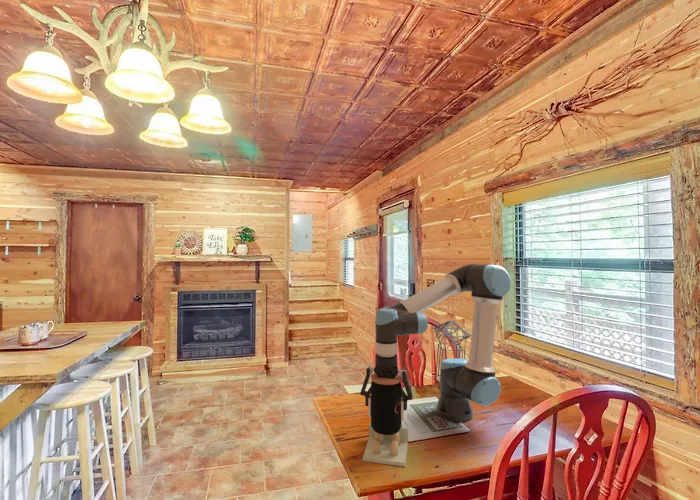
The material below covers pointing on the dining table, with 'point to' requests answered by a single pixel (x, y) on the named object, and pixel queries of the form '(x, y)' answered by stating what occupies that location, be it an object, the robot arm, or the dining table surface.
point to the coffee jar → (386, 404)
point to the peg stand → (387, 447)
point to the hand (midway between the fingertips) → (386, 417)
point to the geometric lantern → (450, 340)
